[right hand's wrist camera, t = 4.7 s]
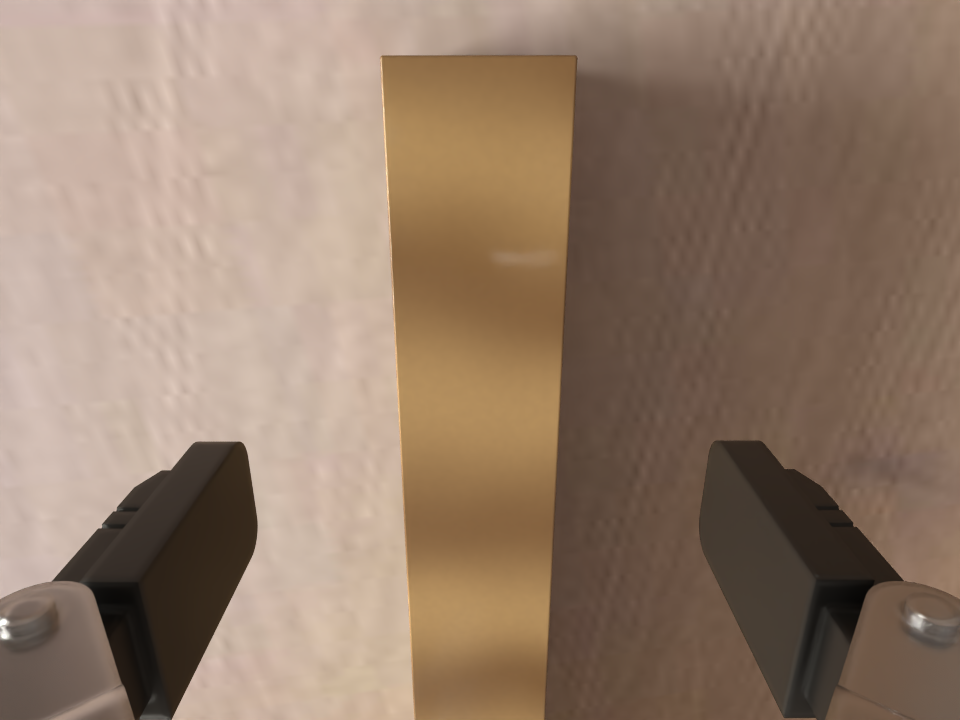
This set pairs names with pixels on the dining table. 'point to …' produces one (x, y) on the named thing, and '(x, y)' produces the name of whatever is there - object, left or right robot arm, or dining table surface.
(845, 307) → the dining table surface
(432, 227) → the post
